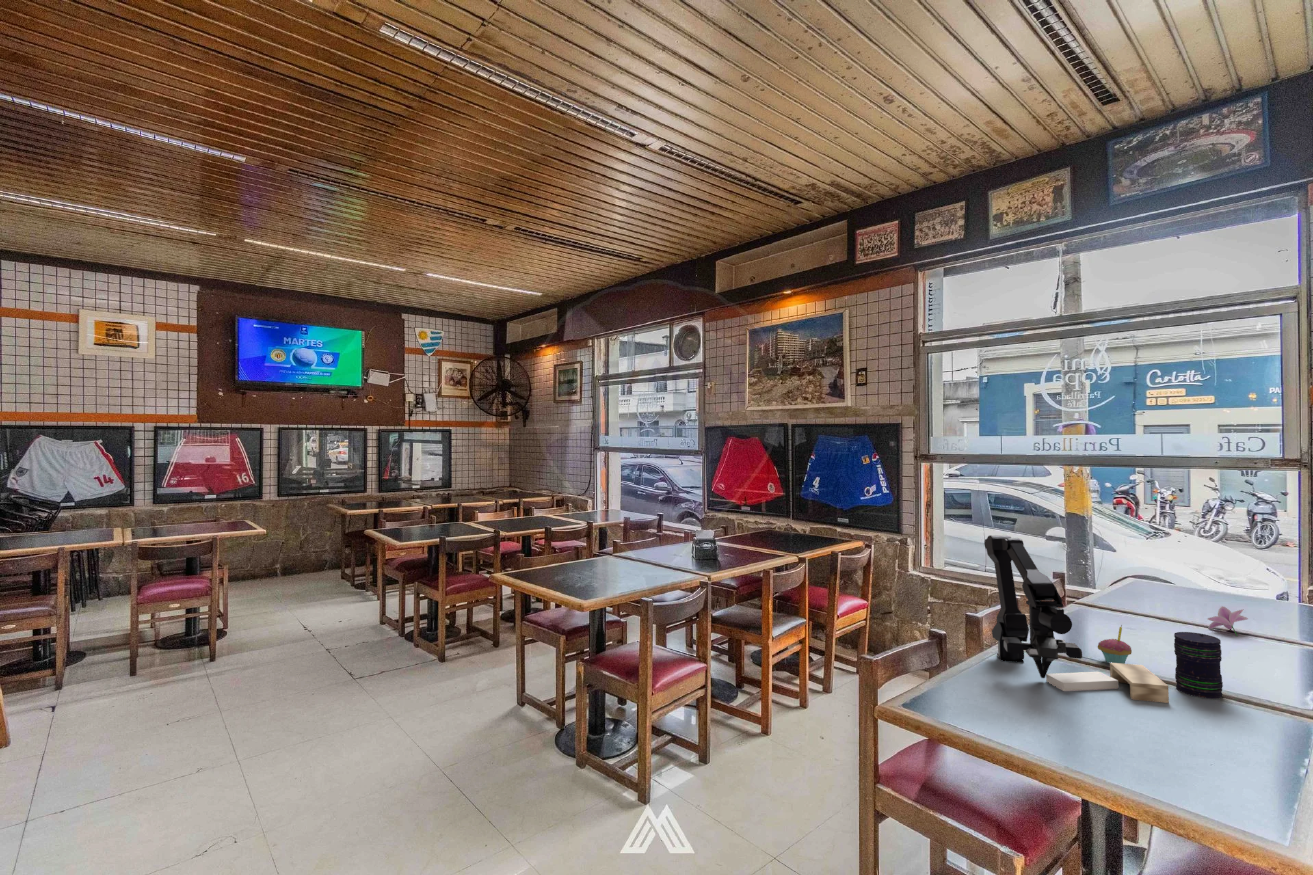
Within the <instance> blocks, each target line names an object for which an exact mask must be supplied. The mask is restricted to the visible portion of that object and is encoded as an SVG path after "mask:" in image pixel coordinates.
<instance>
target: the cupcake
mask: <svg viewBox="0 0 1313 875" xmlns="http://www.w3.org/2000/svg"><path fill="white" fill-rule="evenodd" d="M1122 626H1123V624H1120V626H1119V628H1118V633H1117V634H1118V635H1117V638H1109V639H1107V638H1106V639H1103V640H1100V641H1099V642H1098V645H1097V649H1098V650H1100V652H1101V653H1102V654H1103V657H1104V660H1105V662H1106V661H1107V662H1106V663H1108V662H1112V663H1122V664H1126V662H1127V658H1128V657H1129V655H1132V653H1133V652H1132V650H1133V649H1132V647H1131V646H1130V645H1129V644H1128V643H1127V642H1125V641H1124V640H1123V641H1122V640H1121V636H1122V631H1123V627H1122Z"/></svg>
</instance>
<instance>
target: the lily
mask: <svg viewBox="0 0 1313 875" xmlns="http://www.w3.org/2000/svg"><path fill="white" fill-rule="evenodd" d="M1243 611H1245V610H1244V609H1238V610H1235V611H1231V610H1230V609H1229V608H1228V607H1226V606H1223V605H1221V606H1220V607H1219V609H1218V612H1217V615H1216V616H1211V617H1208V618H1207V620H1208V621H1210V623H1209V626H1208V628H1207V629H1208V630H1210V629H1214V628H1216V627H1217V628H1218V627H1221V626H1223V627H1224V628H1225V629H1227V630H1229V629H1231V630H1233V632H1234V633H1235V636H1236V637H1238V634H1237V632H1236V630H1235V628H1234V625H1235V623H1237V622H1242V621H1246V620H1249V618H1248V617H1247V616H1244V615H1241V614H1242V613H1243Z"/></svg>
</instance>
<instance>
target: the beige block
mask: <svg viewBox="0 0 1313 875" xmlns="http://www.w3.org/2000/svg"><path fill="white" fill-rule="evenodd" d="M1109 673H1110V674H1109V675H1110V676H1109V677H1112V678H1114V679H1116V680H1118V684H1129V693H1130V694H1129V697H1130V699H1132V700H1133V701H1141V702H1142V701H1144V702H1153V703H1164V704H1165V703H1166V704H1170V698H1169V697H1170V696H1169V685H1168V684H1167V683H1165V682H1164V681H1163V680H1162V679H1160V678H1159V677H1158V676H1157V675H1156V674H1154V673H1153V672H1152V671H1150V670H1149V669H1148V668H1147V667H1145V665H1143V664H1133V663H1132V664H1131V663H1125V664H1122V663H1109Z"/></svg>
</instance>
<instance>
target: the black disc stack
mask: <svg viewBox="0 0 1313 875" xmlns="http://www.w3.org/2000/svg"><path fill="white" fill-rule="evenodd" d="M1173 637H1174V643H1173V647H1174V655H1175V663H1176V664H1175V673H1174V677H1175V678H1174V679H1175V683H1176V685H1175V690H1177V691H1179V692H1180V693H1182V694H1185V695H1188V696H1191V695H1192V697H1196V698H1201V699H1206V700H1208V699H1209V700H1212V699H1213V700H1216V699H1217V700H1218V699H1221V698H1223V697H1222V695H1223V687H1224V684H1223V676H1222V673H1221V662H1222V648H1221V647H1222V646H1221V644H1222V642H1221V641H1222V640H1221V639H1220V638H1218V637H1215V636H1213V635H1209V634H1205V633H1204V634H1203V633H1199V632H1189V631H1178V632H1174V634H1173ZM1223 696H1224V695H1223Z"/></svg>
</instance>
